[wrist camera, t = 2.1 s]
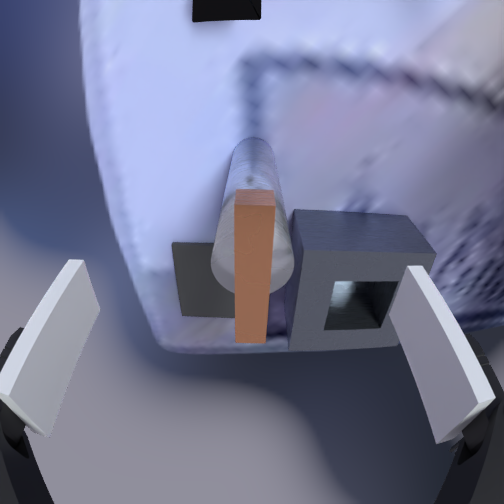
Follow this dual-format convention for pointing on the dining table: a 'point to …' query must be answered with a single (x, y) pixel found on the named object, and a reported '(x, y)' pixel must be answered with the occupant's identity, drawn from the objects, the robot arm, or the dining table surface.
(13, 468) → the robot arm
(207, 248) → the rubber mat
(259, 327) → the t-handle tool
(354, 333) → the block
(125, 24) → the dining table surface
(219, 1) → the black notched block
